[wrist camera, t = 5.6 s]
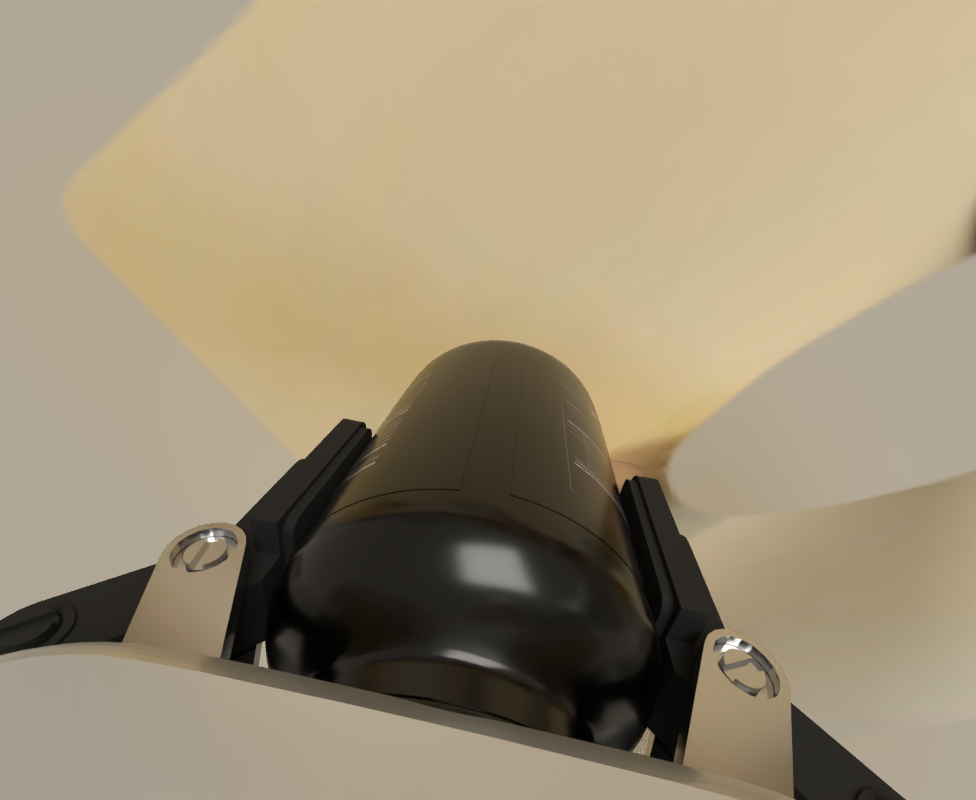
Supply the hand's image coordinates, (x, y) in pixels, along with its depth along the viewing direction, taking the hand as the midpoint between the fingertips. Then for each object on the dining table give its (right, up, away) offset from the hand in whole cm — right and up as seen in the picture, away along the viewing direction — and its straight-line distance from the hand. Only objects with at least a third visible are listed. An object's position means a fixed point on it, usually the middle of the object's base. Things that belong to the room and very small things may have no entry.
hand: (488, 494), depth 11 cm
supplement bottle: (+1, +2, +4) cm, 4 cm away
